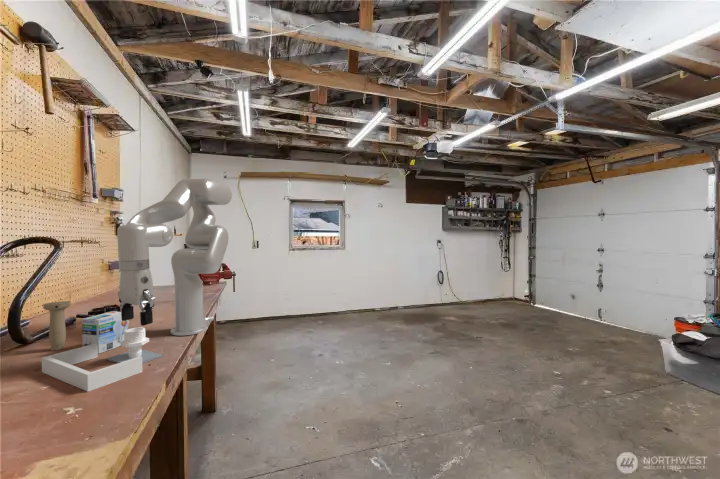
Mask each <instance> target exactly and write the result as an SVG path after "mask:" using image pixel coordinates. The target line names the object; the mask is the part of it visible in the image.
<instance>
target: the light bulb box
mask: <svg viewBox="0 0 720 479" xmlns="http://www.w3.org/2000/svg"><path fill="white" fill-rule="evenodd" d="M81 321H82V322H81V323H82V327H81V328H82V331H81V332H82V341H81V342H82V347H84V346H88V345H92V344H98V355H99V354H102V353H105V352H107V351H110V350H114V349H117V348H119V347H121V346H120V342H122V341H124V339H125V338H124V336H125V335H124V333H125V332H124V331H125V330H128V329H129V320H126V321H122V316H121V311H115V310H113V311H108V312H104V313H101V314H97V315H93V316H92V315H91V316H89V317H84V318H81Z"/></svg>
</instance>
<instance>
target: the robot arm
mask: <svg viewBox="0 0 720 479" xmlns="http://www.w3.org/2000/svg"><path fill="white" fill-rule="evenodd" d="M232 198H233V193H232V190H231V187H229V185H227V184H226V183H223V182H220V181H217V180H214V179H209V178H183V179H181V180H180V181H178V182H177V183H176V184H175V186H174V187H173V188H172V189H171V190H170V191H169V192H168V194H166V195H165V197H164V198H163V199H162V200H160V201H158V202H156V203H153V204H152V205H150V206H148V207H145V208H144V209H141V210H139V212H137V213H136V214H134V215H133V216H132V217H131V218H130V219H129V221H127V222H126V224H123V225H119V226H118V227H117V229H116V230H117V232H116V233H117V235H116V236H117V253H118V271H119V272H118V273H120V275H119V291H118V292H117V295H118V296H117V297H118V302H119V303H120V305H119V307H120V312H121V316H122V321H126V320H128V321H129V320H133V319H134V317H135V316H134V314H135V312H134V306H138V307H139V310H140V312H139V317H140V318H139V319H140V322H139V323H140V326H141V327H143V326H147V325H150V324H153V322H154V321H153V320H154V318H153V311H154V307H155V302H156V296H155V293H154V292H155V291H154V282H153V281H154V280H153V277H152V273H151V269H150V267H151V266H150V252H149V251H150V248H163V247H166V246H168V245H169V244H170V243H171V242H172V241H173V238H174V232H173V230H172V229H171V227H169V226H168V225H166V224H165V223H170V222H173V221H176V220H178V219H182V218H183V217H185V216H186V214H187V213H188V212H189V210H190V209H191V208H192V212H193V216H192V219H191V221H190V225H189V226H188V229H187V231H186V234H185V238H184V242H185V245H186V246H187V247H188V248H181V249H177V251H175V252H174V253H173V254H172V256H171V261H170V263H171V269H172V273H173V278H174V327H172V328H171V329H170V332H169V333H170V335H173V336H177V337H179V336H182V337H184V336H193V335H198V334H201V333H204V332H205V331H207V330H208V327H209V326H208V324H207V323H208V322H209V323H210V322H212V321H214V320H215V318H214V315H211V316H204V288H203V287H204V285H203V281H202V279H201V277H200V276H199V275H200V274H201V275H202V274H203V275H204V274H205V275H211V274H215V273H217V272H218V271H219V270H220V268H221V267H222V263H223V260H224V257H225V253H226V250H227V247H228V245H229V232H228V231H227V229H226V228H225V227H224V226H222V225H215V224H216V215H215V213H214V212H213V211H212V210H211V208H210V206H225V205H228V204H229V203H231V201H232Z"/></svg>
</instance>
